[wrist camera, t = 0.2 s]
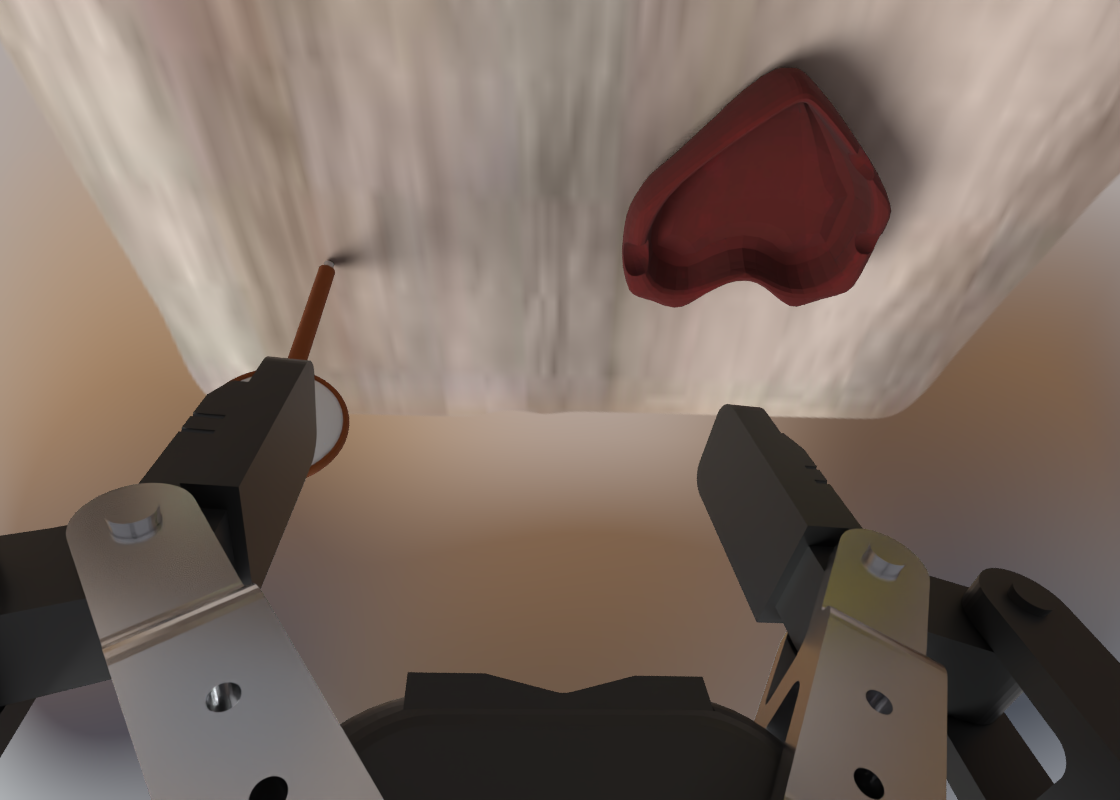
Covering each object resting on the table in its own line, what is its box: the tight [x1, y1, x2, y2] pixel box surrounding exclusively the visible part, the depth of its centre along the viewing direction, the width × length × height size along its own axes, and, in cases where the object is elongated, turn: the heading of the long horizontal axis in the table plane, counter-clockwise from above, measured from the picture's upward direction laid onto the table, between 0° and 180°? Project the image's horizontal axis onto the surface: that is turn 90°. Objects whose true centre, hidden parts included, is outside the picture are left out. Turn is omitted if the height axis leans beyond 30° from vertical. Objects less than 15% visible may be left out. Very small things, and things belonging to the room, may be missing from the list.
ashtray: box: [622, 68, 891, 307], centre depth 41 cm, size 18×16×5 cm
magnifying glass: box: [224, 261, 349, 478], centre depth 41 cm, size 9×2×20 cm, turn 75°
